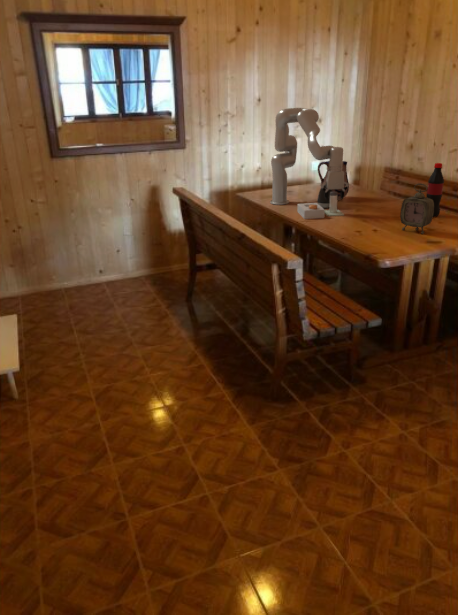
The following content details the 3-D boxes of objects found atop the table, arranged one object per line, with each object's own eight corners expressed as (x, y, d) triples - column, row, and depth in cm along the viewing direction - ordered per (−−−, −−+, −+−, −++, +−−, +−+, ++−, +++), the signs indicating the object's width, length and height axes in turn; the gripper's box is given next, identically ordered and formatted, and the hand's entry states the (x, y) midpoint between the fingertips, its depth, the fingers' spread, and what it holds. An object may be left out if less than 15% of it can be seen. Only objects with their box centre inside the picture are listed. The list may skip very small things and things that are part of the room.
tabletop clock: (398, 230, 269) (403, 183, 259) (406, 227, 275) (412, 180, 264) (424, 235, 259) (431, 186, 249) (432, 231, 265) (439, 183, 255)
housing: (297, 211, 313) (297, 203, 311) (316, 210, 314) (316, 202, 312) (304, 218, 296) (304, 210, 294) (324, 217, 297) (324, 209, 295)
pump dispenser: (333, 209, 316) (334, 184, 310) (316, 209, 318) (317, 184, 312) (333, 205, 325) (335, 181, 319) (317, 205, 327) (318, 181, 321)
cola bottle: (438, 214, 298) (446, 162, 285) (439, 217, 290) (447, 164, 278) (423, 213, 300) (430, 161, 288) (423, 217, 293) (430, 164, 281)
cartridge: (328, 211, 308) (329, 191, 303) (335, 211, 308) (336, 191, 303) (330, 213, 304) (331, 193, 299) (337, 212, 304) (338, 192, 299)
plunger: (307, 214, 302) (307, 204, 300) (315, 214, 303) (316, 204, 300) (309, 216, 298) (309, 206, 295) (317, 216, 298) (318, 206, 296)
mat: (322, 211, 311) (322, 210, 311) (338, 210, 312) (338, 209, 312) (327, 216, 300) (327, 215, 300) (344, 215, 301) (344, 214, 301)
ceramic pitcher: (350, 201, 334) (353, 162, 324) (318, 202, 335) (320, 163, 325) (345, 196, 350) (347, 159, 340) (314, 196, 351) (316, 159, 341)
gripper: (322, 170, 291) (321, 200, 298) (352, 169, 293) (349, 198, 300) (319, 168, 298) (318, 197, 305) (347, 167, 300) (346, 196, 307)
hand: (333, 198), depth 302 cm, fingers open, 9 cm apart
